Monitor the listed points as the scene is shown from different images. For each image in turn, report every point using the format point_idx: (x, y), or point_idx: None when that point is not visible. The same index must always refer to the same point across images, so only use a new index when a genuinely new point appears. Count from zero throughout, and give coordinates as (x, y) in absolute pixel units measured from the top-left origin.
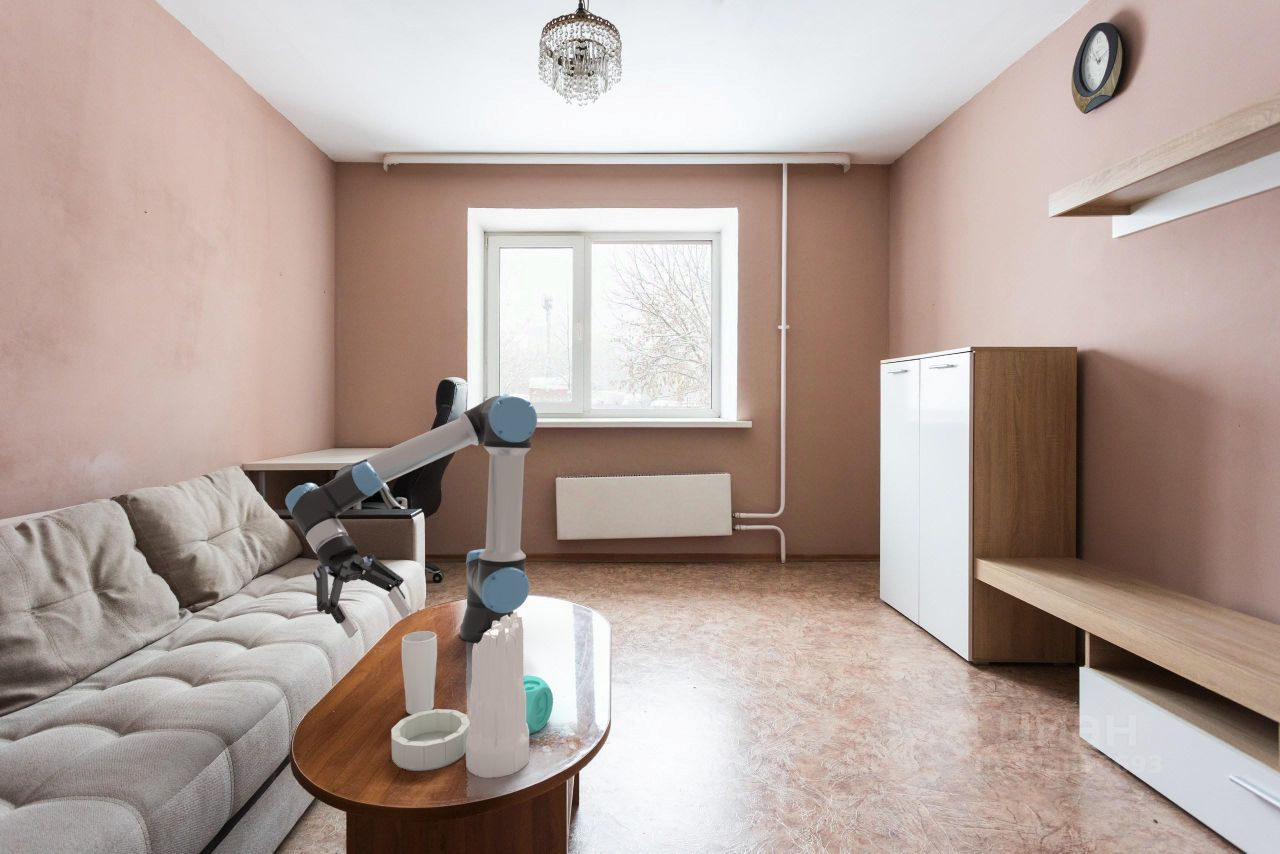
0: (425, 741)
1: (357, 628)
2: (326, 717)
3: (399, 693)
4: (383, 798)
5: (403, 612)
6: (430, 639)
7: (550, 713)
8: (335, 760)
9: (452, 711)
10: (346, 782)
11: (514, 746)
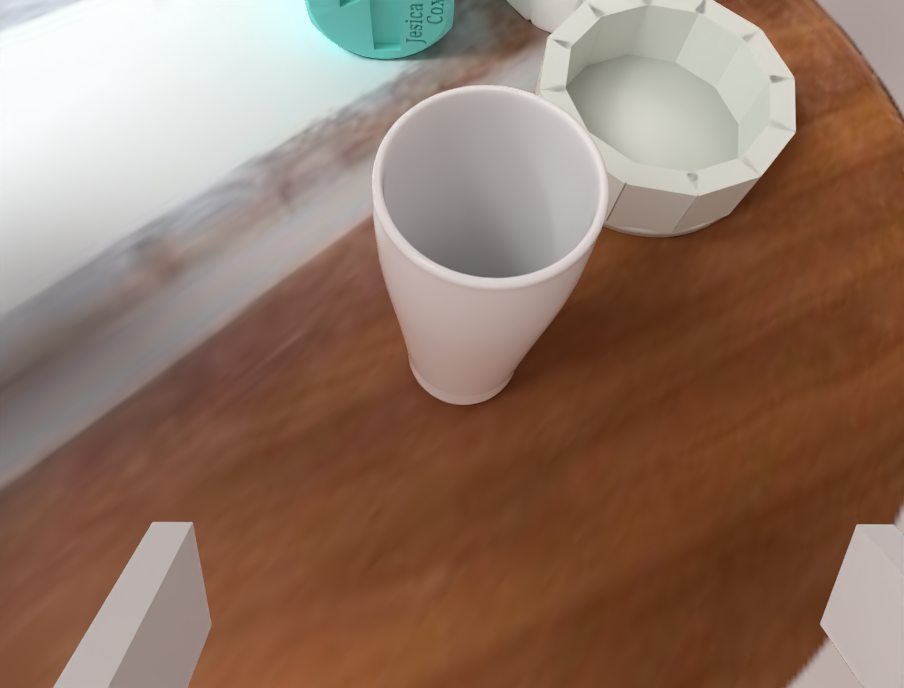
0: (637, 159)
1: (872, 532)
2: (709, 674)
3: (379, 564)
4: (859, 93)
5: (190, 614)
6: (496, 86)
7: None
8: (853, 343)
9: (553, 89)
10: (888, 220)
11: None
